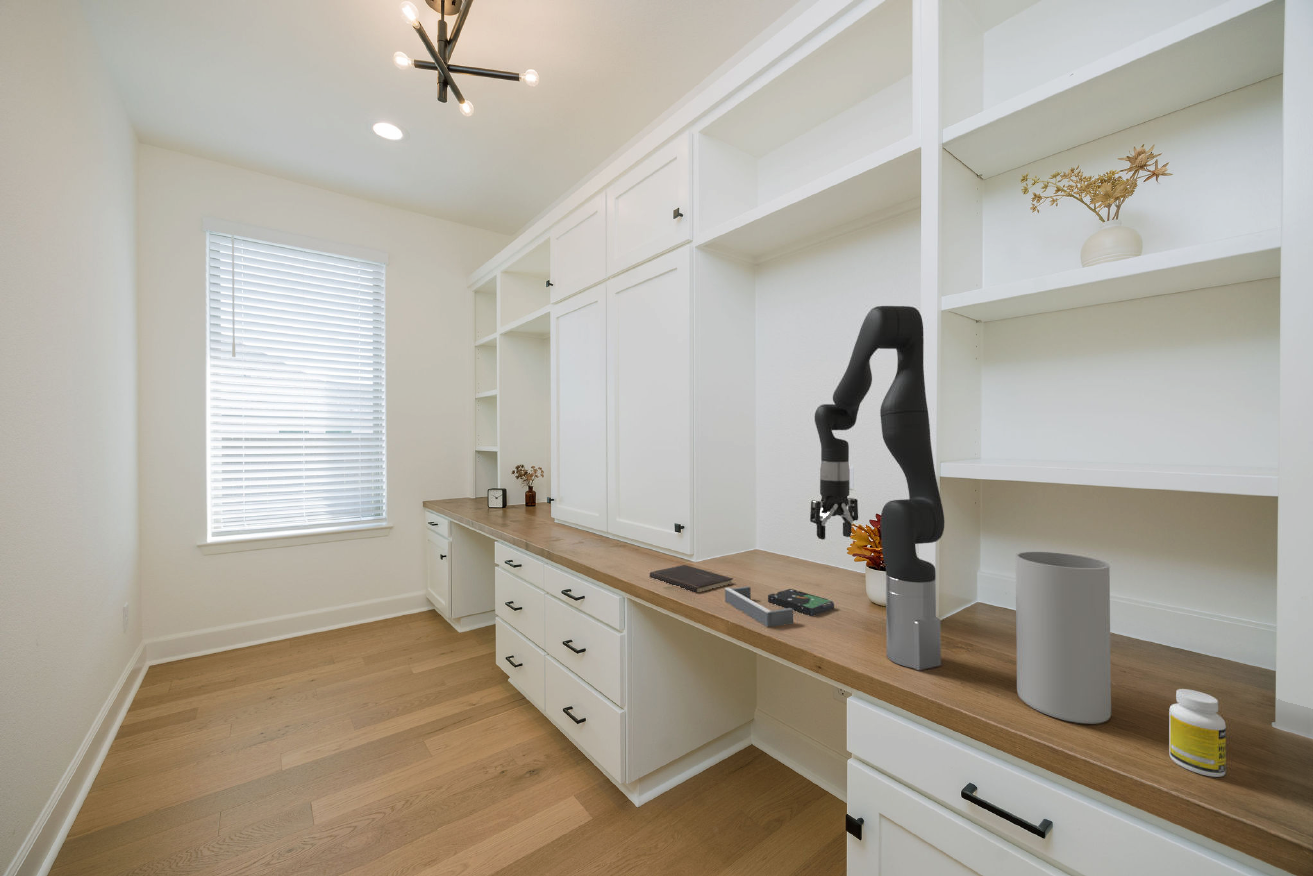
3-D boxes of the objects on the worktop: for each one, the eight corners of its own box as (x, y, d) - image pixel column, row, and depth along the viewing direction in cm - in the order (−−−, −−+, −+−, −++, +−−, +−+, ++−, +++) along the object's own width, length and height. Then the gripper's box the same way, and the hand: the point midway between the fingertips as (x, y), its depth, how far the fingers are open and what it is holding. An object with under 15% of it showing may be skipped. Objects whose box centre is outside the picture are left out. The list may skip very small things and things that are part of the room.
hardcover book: (684, 571, 178) (684, 564, 178) (732, 585, 160) (732, 578, 160) (649, 579, 168) (649, 572, 168) (696, 595, 150) (696, 587, 150)
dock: (793, 623, 125) (793, 608, 125) (767, 627, 123) (767, 611, 123) (748, 598, 145) (748, 585, 145) (725, 601, 143) (725, 588, 143)
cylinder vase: (1023, 681, 95) (1021, 548, 95) (1112, 704, 86) (1110, 559, 86) (1011, 706, 86) (1009, 560, 86) (1109, 736, 77) (1107, 573, 77)
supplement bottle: (1230, 784, 66) (1229, 710, 66) (1171, 766, 70) (1170, 696, 70) (1222, 764, 70) (1221, 694, 70) (1167, 748, 74) (1166, 682, 74)
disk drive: (767, 604, 142) (812, 618, 130) (767, 594, 142) (812, 607, 130) (790, 597, 148) (835, 610, 136) (790, 588, 148) (834, 600, 136)
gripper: (822, 480, 129) (822, 543, 130) (865, 478, 135) (865, 538, 135) (804, 477, 136) (803, 537, 137) (845, 475, 142) (845, 533, 142)
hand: (834, 537), depth 136 cm, fingers open, 8 cm apart
